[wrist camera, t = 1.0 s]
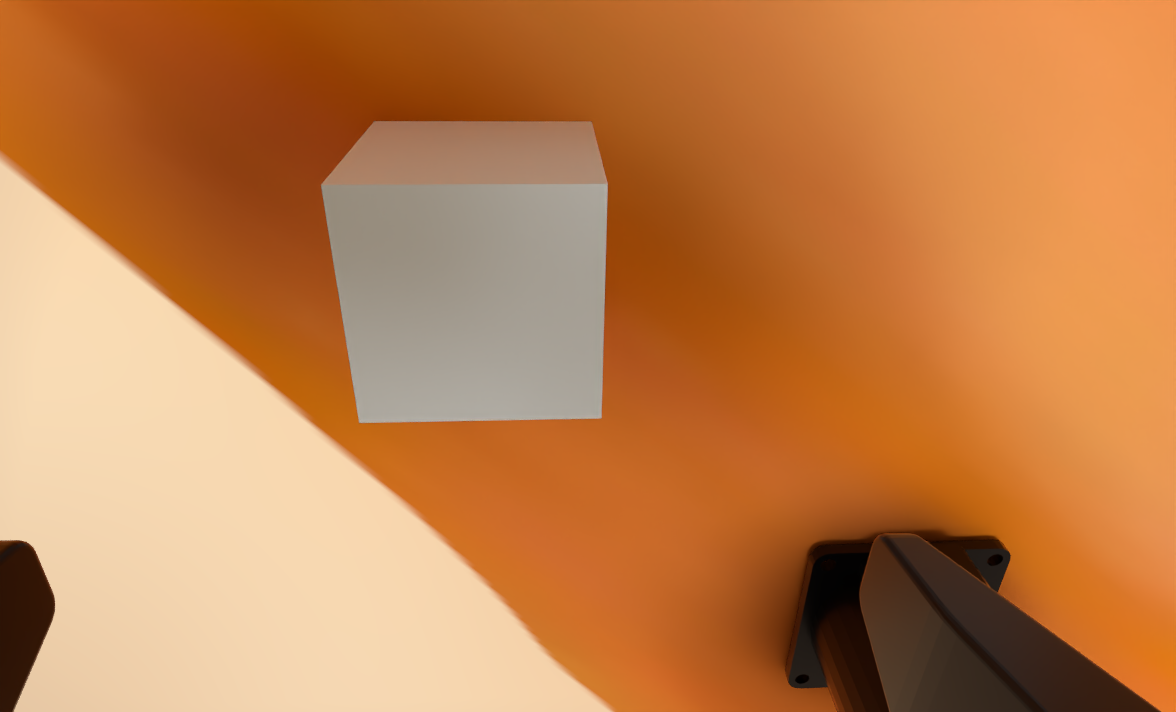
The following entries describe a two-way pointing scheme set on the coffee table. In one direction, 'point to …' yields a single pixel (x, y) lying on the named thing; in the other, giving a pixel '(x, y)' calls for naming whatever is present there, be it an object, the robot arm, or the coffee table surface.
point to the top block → (472, 269)
